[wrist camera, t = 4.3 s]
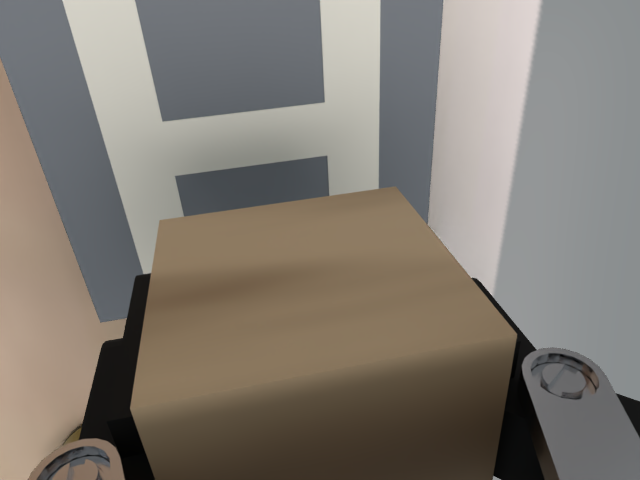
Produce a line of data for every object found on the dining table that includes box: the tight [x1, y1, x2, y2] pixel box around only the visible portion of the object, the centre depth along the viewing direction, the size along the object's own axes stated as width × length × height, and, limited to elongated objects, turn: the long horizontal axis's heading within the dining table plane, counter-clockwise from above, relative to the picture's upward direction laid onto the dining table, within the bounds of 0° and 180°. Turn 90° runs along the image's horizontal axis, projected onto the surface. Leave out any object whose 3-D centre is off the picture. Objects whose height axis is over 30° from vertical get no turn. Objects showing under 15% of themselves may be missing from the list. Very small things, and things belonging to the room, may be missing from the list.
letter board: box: [0, 0, 443, 323], centre depth 19 cm, size 14×14×1 cm
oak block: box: [130, 186, 517, 480], centre depth 10 cm, size 5×5×5 cm
